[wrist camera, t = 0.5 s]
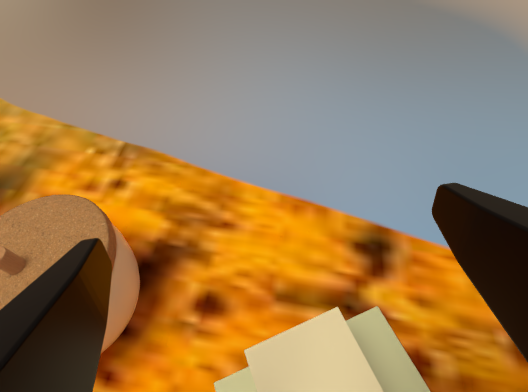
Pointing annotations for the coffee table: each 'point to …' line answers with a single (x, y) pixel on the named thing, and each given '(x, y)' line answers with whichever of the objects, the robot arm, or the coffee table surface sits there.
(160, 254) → the coffee table surface
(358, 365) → the bottom brick
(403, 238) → the coffee table surface
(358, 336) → the baseplate
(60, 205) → the lidded jar
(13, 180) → the coffee table surface
